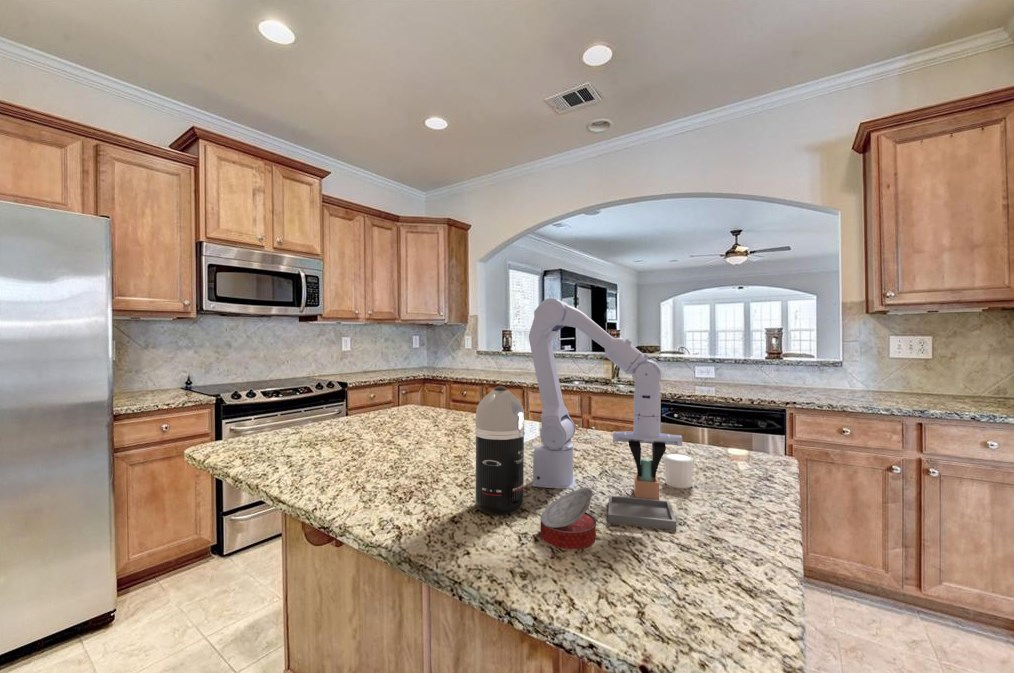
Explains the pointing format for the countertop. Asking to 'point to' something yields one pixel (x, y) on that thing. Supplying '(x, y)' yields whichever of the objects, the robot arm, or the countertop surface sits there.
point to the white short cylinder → (678, 470)
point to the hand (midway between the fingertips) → (646, 475)
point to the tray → (641, 512)
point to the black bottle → (499, 453)
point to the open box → (646, 488)
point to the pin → (646, 470)
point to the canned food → (569, 521)
